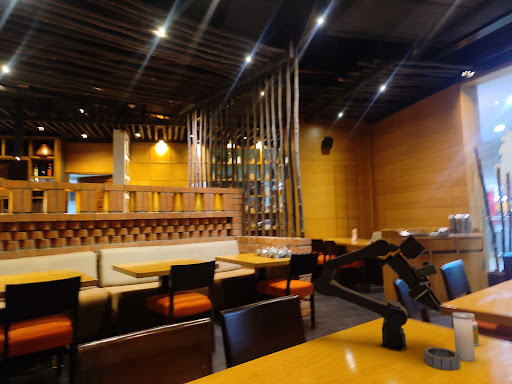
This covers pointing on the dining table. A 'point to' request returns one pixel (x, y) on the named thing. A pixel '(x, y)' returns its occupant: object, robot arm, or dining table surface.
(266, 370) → the dining table surface
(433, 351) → the collar
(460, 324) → the duct sleeve
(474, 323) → the supplement bottle
